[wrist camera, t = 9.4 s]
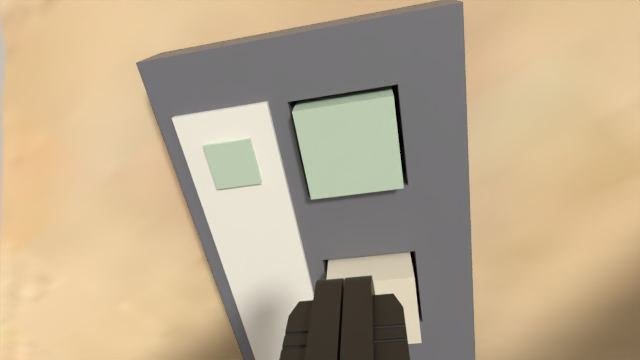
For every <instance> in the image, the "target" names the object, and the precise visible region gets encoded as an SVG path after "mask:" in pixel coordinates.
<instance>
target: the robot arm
mask: <svg viewBox="0 0 640 360" xmlns="http://www.w3.org/2000/svg"><path fill="white" fill-rule="evenodd" d="M279 360H410V354H409V346H408V338H407V331H406V323H405V316H404V308H403V306H402V305H401V303H400V302H399V300H398V299H397V298H396V296H395V295H394V293H392V294H380V295H375V290H374V284H373V278H372V275H370V276H359V277H348V278H345V280H344V278H338V279H327V280H317V281H316V285H315V291H314V298H313V300H310V301H299V302H298V304H297V305H296V306H295V308H294V309H293V311H292V312H291V313H290V315H289V316H288V321H287V326H286V331H285V336H284V340H283V345H282V350H281V354H280V359H279Z"/></svg>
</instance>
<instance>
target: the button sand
mask: <svg viewBox="0 0 640 360" xmlns="http://www.w3.org/2000/svg"><path fill="white" fill-rule="evenodd" d="M370 275H372V278H373V284H374V290H375V295H380V294H392V293H394V295H395V296H396V298H397V299H398V300H399V302H400V303H401V305H402V306H403V308H404V316H405V323H406V331H407V338H408V344H415V343H422V341H421V332H420V323H419V314H418V304H417V295H416V286H415V277H414V272H413V266H412V261H411V255H410V252H400V253H390V254H380V255H370V256H360V257H350V258H340V259H330V260H328V269H327V278H326V280H327V279H338V278H344V280H345V278H348V277H359V276H370Z"/></svg>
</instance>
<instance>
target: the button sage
mask: <svg viewBox="0 0 640 360" xmlns="http://www.w3.org/2000/svg"><path fill="white" fill-rule="evenodd" d="M292 114H293V119H294V123H295V128H296V133H297V137H298V142H299V146H300V151H301V156H302V160H303V165H304V169H305V174H306V178H307V183H308V188H309V192H310V197H311V200H312V199H321V198H329V197H337V196H345V195H353V194H362V193H370V192H378V191H386V190H394V189H403V188H404V185H403V175H402V166H401V157H400V148H399V139H398V130H397V121H396V111H395V102H394V95H393V91H392V88H391V86H384V87H378V88H372V89H366V90H360V91H353V92H347V93H341V94H335V95H328V96H322V97H316V98H310V99H303V100H297V102H296V105H295V107H294V109H293V111H292Z"/></svg>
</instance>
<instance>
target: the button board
mask: <svg viewBox="0 0 640 360" xmlns="http://www.w3.org/2000/svg"><path fill="white" fill-rule="evenodd" d="M136 64H137V67H138V70H139V72H140V75H141V78H142V81H143V83H144V86H145V89H146V92H147V94H148V97H149V100H150V103H151V105H152V108H153V111H154V114H155V116H156V119H157V122H158V125H159V127H160V130H161V133H162V136H163V138H164V141H165V144H166V147H167V149H168V152H169V155H170V158H171V160H172V163H173V166H174V169H175V171H176V174H177V177H178V180H179V182H180V185H181V188H182V191H183V193H184V196H185V199H186V202H187V204H188V207H189V210H190V213H191V215H192V218H193V221H194V224H195V227H196V229H197V232H198V235H199V238H200V240H201V243H202V246H203V249H204V251H205V254H206V257H207V260H208V262H209V265H210V268H211V271H212V273H213V276H214V279H215V282H216V284H217V287H218V290H219V293H220V295H221V298H222V301H223V304H224V306H225V309H226V312H227V315H228V317H229V320H230V323H231V326H232V328H233V331H234V334H235V337H236V339H237V342H238V345H239V348H240V350H241V353H242V356H243V359H244V360H279V359H280V354H281V350H282V345H283V340H284V336H285V331H286V326H287V321H288V316H289V315H290V313H291V312H292V311H293V309H294V308H295V306H296V305H297V304H298V302H299V301H310V300H313V298H314V291H315V285H316V281H317V280H326V278H327V269H328V260H330V259H340V258H350V257H360V256H370V255H380V254H390V253H400V252H411V251H413V259H414V268H415V278H416V287H417V290H416V295H417V304H418V314H419V323H420V332H421V341H422V343H415V344H408V346H409V354H410V360H475V338H474V309H473V280H472V250H471V221H470V192H469V163H468V134H467V105H466V76H465V47H464V17H463V2H461V1H457V0H440V1H435V2H429V3H424V4H419V5H413V6H408V7H403V8H398V9H392V10H387V11H382V12H376V13H371V14H366V15H360V16H355V17H350V18H344V19H339V20H334V21H328V22H323V23H318V24H312V25H307V26H302V27H297V28H291V29H286V30H281V31H275V32H270V33H265V34H259V35H254V36H249V37H243V38H238V39H233V40H227V41H222V42H217V43H211V44H206V45H201V46H196V47H190V48H185V49H180V50H174V51H169V52H164V53H160V54H157V55H155V56H152V57H150V58H147V59H145V60H142V61H140V62H137V63H136ZM391 85H395V91H396V100H397V109H398V119H399V128H400V137H401V147H402V156H403V163H401V166H402V175H403V185H404V188H403V189H394V190H386V191H378V192H370V193H362V194H353V195H345V196H337V197H329V198H321V199H312V200H311V197H310V192H309V188H308V183H307V178H306V174H305V169H304V165H303V160H302V156H301V151H300V146H299V142H298V137H297V133H296V128H295V123H294V119H293V114H292V111H293V109H294V107H295V105H296V102H297V100H303V99H310V98H316V97H322V96H328V95H335V94H341V93H347V92H353V91H360V90H366V89H372V88H378V87H384V86H391Z"/></svg>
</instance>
